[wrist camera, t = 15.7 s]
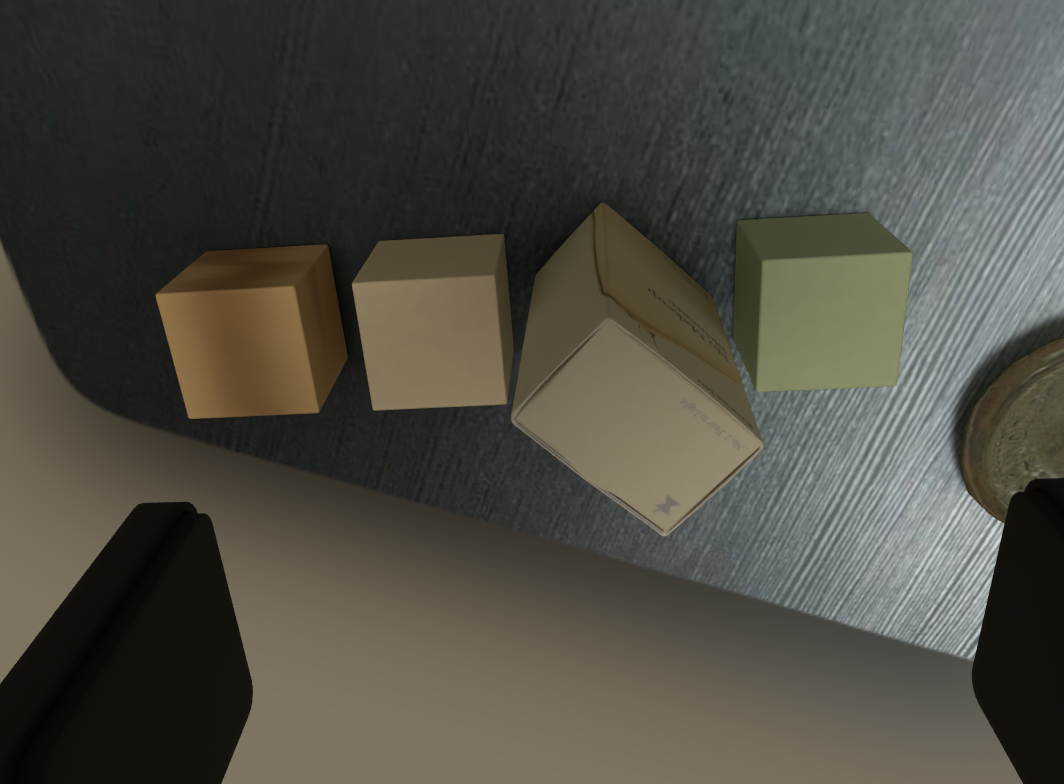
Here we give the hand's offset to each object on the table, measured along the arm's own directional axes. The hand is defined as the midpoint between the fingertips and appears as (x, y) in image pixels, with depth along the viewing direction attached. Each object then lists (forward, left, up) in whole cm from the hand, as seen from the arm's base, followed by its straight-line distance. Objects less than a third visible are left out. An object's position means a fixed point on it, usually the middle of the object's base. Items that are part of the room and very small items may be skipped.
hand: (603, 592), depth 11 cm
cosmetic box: (+1, -5, -26) cm, 26 cm away
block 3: (+9, -5, -26) cm, 27 cm away
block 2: (-5, -5, -26) cm, 27 cm away
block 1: (-12, -5, -26) cm, 29 cm away
